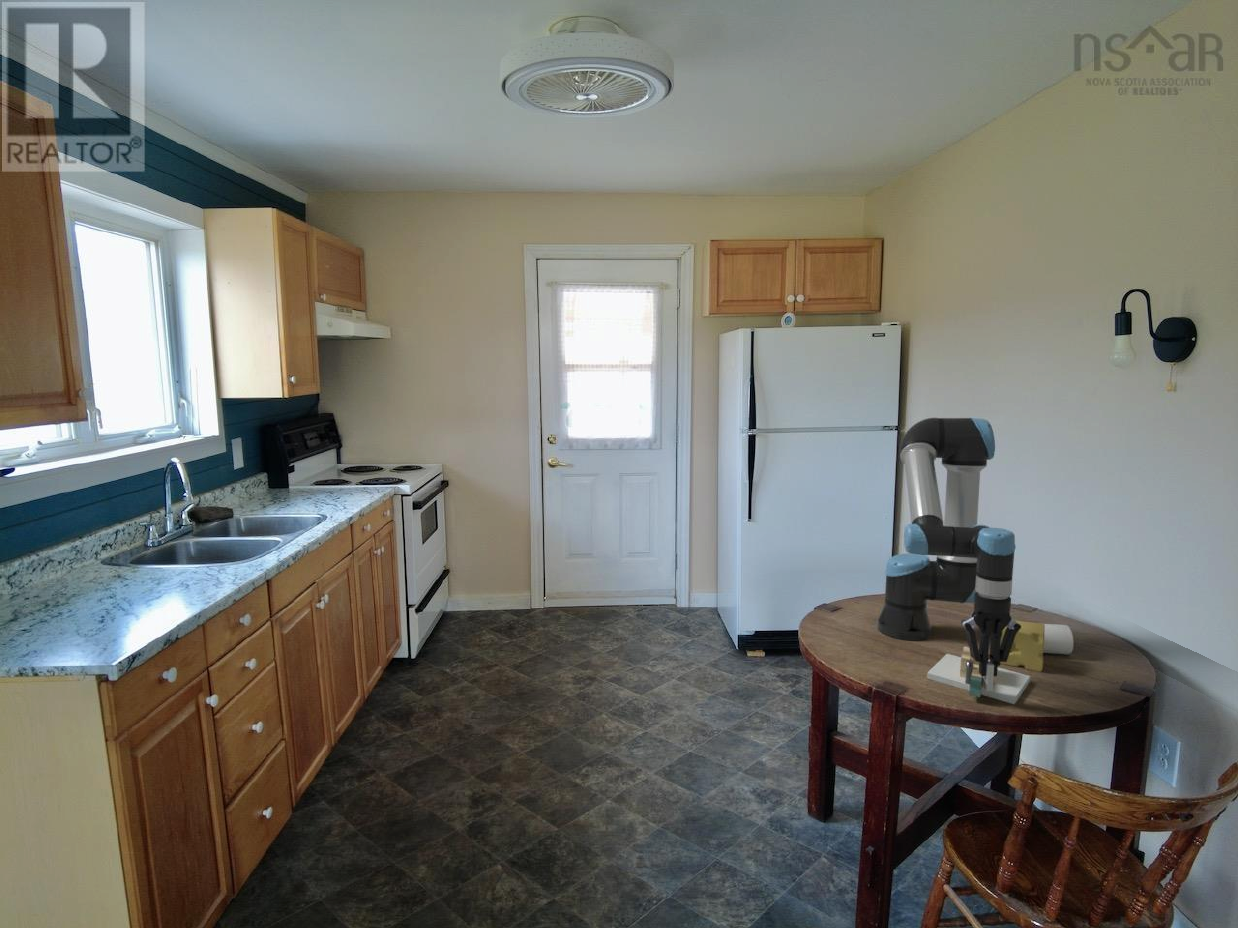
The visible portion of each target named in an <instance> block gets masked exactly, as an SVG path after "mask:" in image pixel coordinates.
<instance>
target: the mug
mask: <svg viewBox="0 0 1238 928" xmlns="http://www.w3.org/2000/svg"><path fill="white" fill-rule="evenodd" d="M1040 624H1042V623H1040ZM1043 624H1044V625H1045V632H1044V634H1045V635H1044V650H1043V654H1053V655H1054V654H1055V655H1066V656H1067V655H1070V654H1072V653H1073V649H1074V636H1073V635H1074V634H1073V632H1072V630H1071V628H1070V627H1069V625H1067V624H1057V623H1056V624H1055V623H1054V624H1053V623H1043Z"/></svg>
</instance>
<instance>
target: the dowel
mask: <svg viewBox="0 0 1238 928" xmlns="http://www.w3.org/2000/svg"><path fill="white" fill-rule="evenodd" d="M972 670H973V662H971V661H967V664H966V678H965V683H966V684H970V678H971V675H972Z"/></svg>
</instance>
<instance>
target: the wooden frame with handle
mask: <svg viewBox="0 0 1238 928" xmlns="http://www.w3.org/2000/svg"><path fill="white" fill-rule="evenodd" d="M978 650H979V648H978ZM989 653H990V650H989ZM960 657H961V667H960V676H961V677H966V664H967V661H971V662H973V670H972V675H971V678H970V691H968V694H969V696H973V697H975V698H976V697H977V698H981V696H982V695H981V687H982V686H981V684H982V676H981V675H980V674H979V662H977V661H975V660H974V659H973V658H972V657H971V654H970V649H969V646H963V649H962V653H961V656H960ZM988 660H989V661H990V659H989V655H988ZM996 679H997V676H993V683H994V684H996Z"/></svg>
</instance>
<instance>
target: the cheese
mask: <svg viewBox="0 0 1238 928" xmlns="http://www.w3.org/2000/svg"><path fill="white" fill-rule="evenodd" d="M1012 620H1013V621H1016V622H1017V623H1018V624H1020V625H1021V629H1020V630H1019V631H1018V632H1017V633H1016V636H1015V639H1014V642H1013V644H1012V647H1011V650H1010V653H1009V656H1008V659H1007V661H1006V662H1000V665H1006V666H1012V667H1023V668H1025V669H1026V670H1031V671H1034V672H1039V673H1041V672H1042V671H1043V668H1044V653H1043V650H1044V635H1045V634H1044V632H1045V625H1044V624H1045V623H1041V624H1040V623H1039V622H1028V621H1023V620H1022V621H1020V620H1015V619H1012ZM1006 628H1007V626H1006V627H1005V628H1004V629H1003V631H1002V637H1001V642H1002V639H1003V636H1004V633H1005V630H1006ZM1001 642H1000V645H1001Z"/></svg>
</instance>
